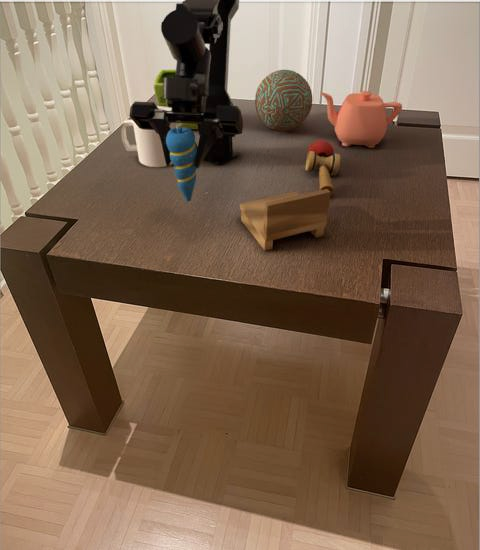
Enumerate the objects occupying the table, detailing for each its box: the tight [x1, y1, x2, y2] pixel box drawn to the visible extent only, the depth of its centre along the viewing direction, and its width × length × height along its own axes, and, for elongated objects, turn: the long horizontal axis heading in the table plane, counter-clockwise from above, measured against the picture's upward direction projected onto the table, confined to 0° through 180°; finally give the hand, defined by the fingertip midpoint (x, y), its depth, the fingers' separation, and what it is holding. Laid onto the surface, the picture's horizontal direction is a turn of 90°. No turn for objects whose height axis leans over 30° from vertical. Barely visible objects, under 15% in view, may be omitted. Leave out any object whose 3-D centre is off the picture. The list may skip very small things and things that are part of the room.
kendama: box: [305, 139, 341, 197], centre depth 101 cm, size 8×6×18 cm
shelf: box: [239, 189, 331, 252], centre depth 84 cm, size 12×12×10 cm
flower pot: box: [153, 69, 198, 130], centre depth 124 cm, size 14×14×13 cm
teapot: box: [320, 90, 403, 149], centre depth 114 cm, size 13×20×12 cm, turn 81°
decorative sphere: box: [254, 69, 313, 132], centre depth 120 cm, size 15×15×15 cm
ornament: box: [166, 122, 198, 202], centre depth 79 cm, size 5×5×15 cm
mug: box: [120, 105, 178, 168], centre depth 108 cm, size 14×10×11 cm
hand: (182, 166), depth 78 cm, fingers closed on ornament, 5 cm apart
